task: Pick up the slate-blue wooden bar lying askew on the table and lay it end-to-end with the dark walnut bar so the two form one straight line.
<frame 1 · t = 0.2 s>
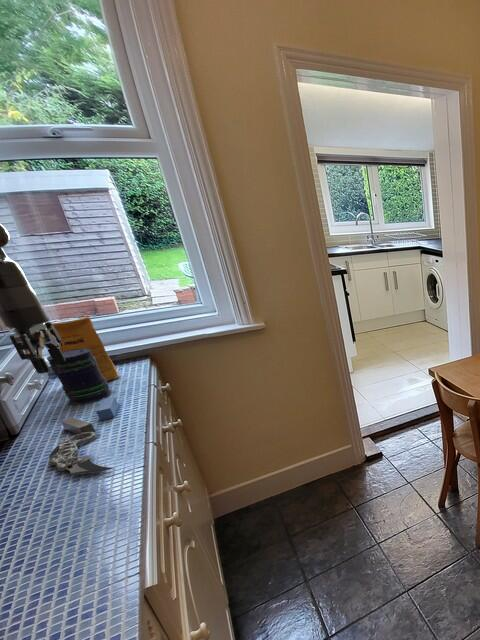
hand: (52, 366, 106), 18 cm above the worktop, tool pointing down, fingers open, 8 cm apart
coffee package: (96, 381, 145), on the worktop
blue bar: (110, 412, 121), on the worktop
storage jar: (91, 397, 132), on the worktop
walnut bar: (80, 430, 112), on the worktop
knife: (81, 458, 99), on the worktop
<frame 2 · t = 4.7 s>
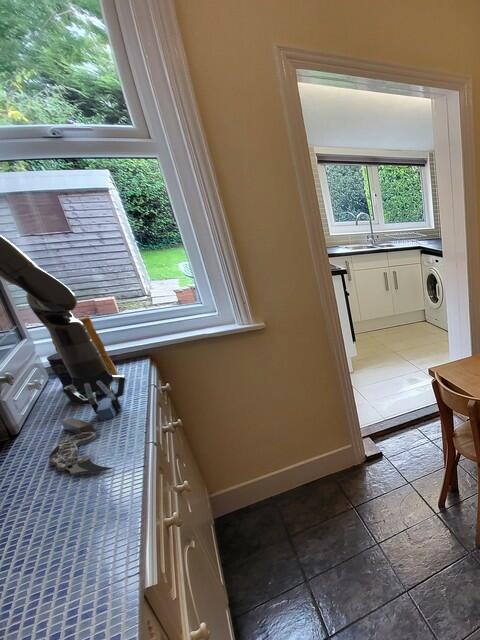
hand: (109, 412, 121), 0 cm above the worktop, tool pointing down, fingers closed on blue bar, 3 cm apart
blue bar: (110, 412, 121), on the worktop, touching gripper
everything else where it was.
when the fingers open (0 cm above the worktop, at t = 9.8 s): blue bar stays where it is, on the worktop.
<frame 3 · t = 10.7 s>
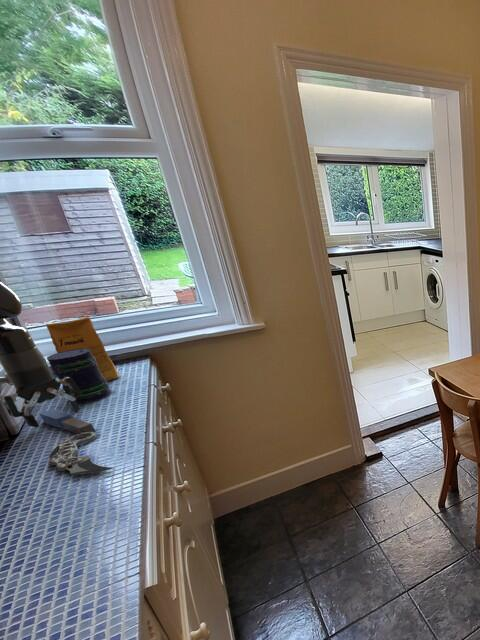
hand: (56, 419, 115), 1 cm above the worktop, tool pointing down, fingers open, 8 cm apart
blue bar: (60, 423, 116), on the worktop
everything else where it was.
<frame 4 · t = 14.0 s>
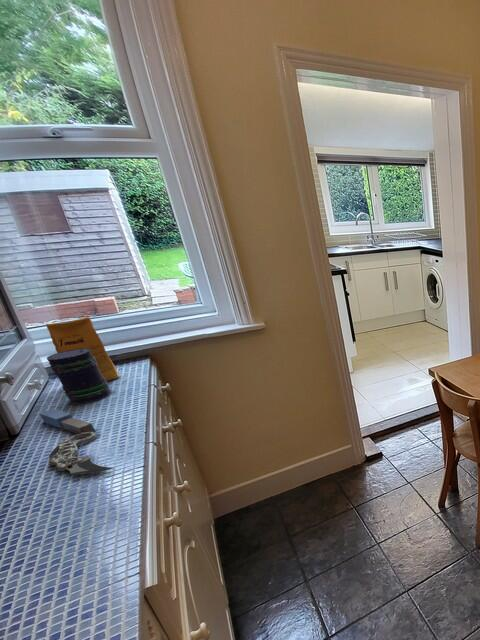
nothing on the worktop moved.
at the end: blue bar 0.2 cm from the target spot on the worktop beside the walnut bar, on the worktop; blue bar tilted 0°; walnut bar moved 0.0 cm from its start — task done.
